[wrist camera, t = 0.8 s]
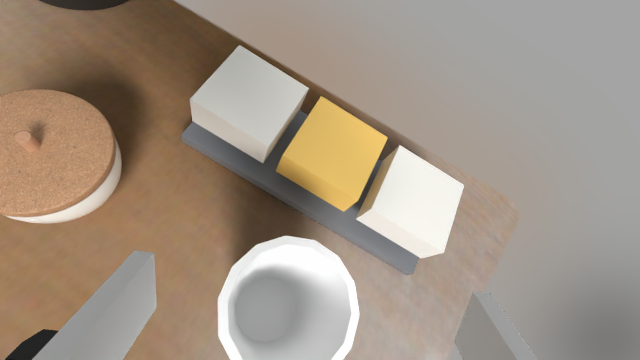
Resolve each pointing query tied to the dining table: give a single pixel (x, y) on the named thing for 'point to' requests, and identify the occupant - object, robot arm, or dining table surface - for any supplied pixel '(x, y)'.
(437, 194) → the key
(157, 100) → the dining table surface
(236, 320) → the foam cup
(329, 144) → the amber key
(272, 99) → the key
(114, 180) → the lidded jar
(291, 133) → the keypad base
